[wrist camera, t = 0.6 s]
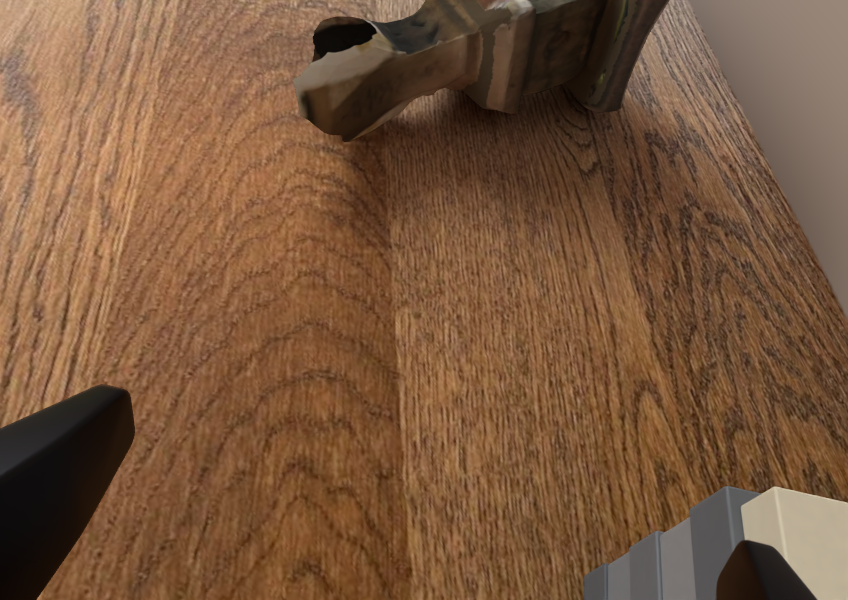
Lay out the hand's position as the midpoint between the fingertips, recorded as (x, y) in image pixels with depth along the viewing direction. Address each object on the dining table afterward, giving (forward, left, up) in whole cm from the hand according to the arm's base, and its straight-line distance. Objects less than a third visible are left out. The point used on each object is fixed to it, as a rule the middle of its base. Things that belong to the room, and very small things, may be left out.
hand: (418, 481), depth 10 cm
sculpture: (+30, 0, -16) cm, 34 cm away
